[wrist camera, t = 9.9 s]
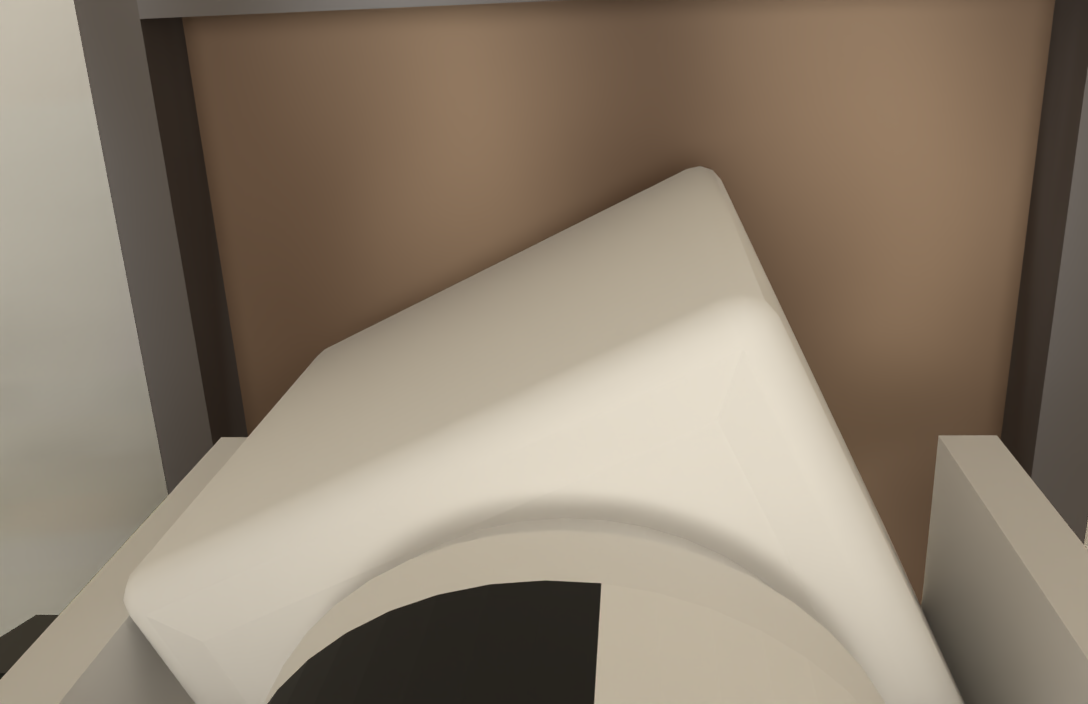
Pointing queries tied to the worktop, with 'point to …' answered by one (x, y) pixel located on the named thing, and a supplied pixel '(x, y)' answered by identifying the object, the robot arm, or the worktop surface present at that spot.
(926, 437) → the wooden tray
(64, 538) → the worktop surface
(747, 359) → the medicine bottle
